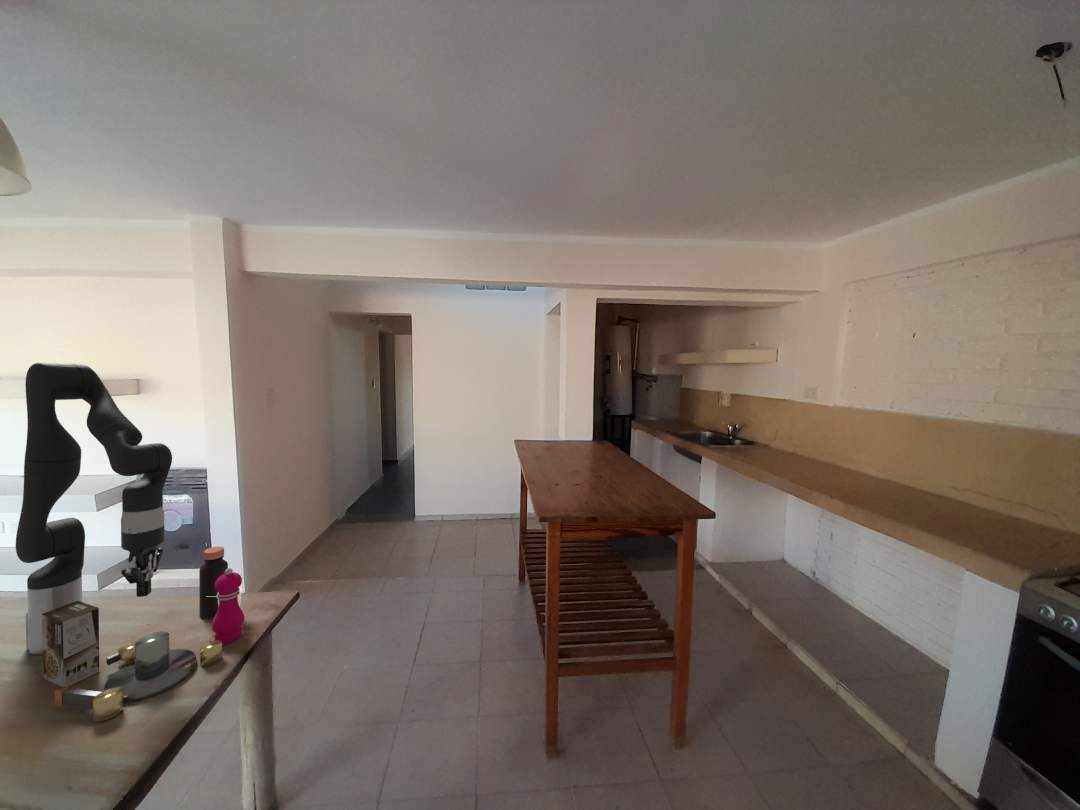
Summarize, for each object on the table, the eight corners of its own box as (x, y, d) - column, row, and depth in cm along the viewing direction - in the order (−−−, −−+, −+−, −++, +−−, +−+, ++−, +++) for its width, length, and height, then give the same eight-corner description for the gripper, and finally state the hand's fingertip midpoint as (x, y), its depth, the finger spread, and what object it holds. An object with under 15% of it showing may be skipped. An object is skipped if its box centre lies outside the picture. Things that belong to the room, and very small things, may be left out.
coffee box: (101, 671, 99) (100, 607, 98) (63, 689, 93) (62, 622, 92) (80, 661, 102) (78, 599, 101) (41, 678, 95) (40, 612, 95)
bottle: (195, 621, 120) (195, 555, 119) (204, 609, 126) (204, 546, 125) (223, 616, 122) (224, 552, 121) (230, 605, 129) (230, 544, 127)
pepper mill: (226, 648, 109) (226, 576, 108) (204, 643, 110) (204, 572, 109) (250, 632, 116) (251, 564, 115) (230, 627, 117) (230, 561, 116)
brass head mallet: (46, 715, 85) (45, 696, 85) (71, 698, 90) (71, 681, 89) (105, 722, 84) (105, 704, 84) (129, 705, 89) (128, 688, 88)
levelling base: (64, 696, 91) (63, 656, 90) (151, 643, 109) (151, 609, 109) (159, 708, 89) (158, 667, 88) (230, 652, 107) (230, 617, 107)
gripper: (139, 518, 103) (140, 584, 104) (104, 537, 90) (105, 612, 91) (176, 516, 105) (176, 580, 106) (147, 534, 93) (148, 607, 94)
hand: (143, 595), depth 99 cm, fingers closed
